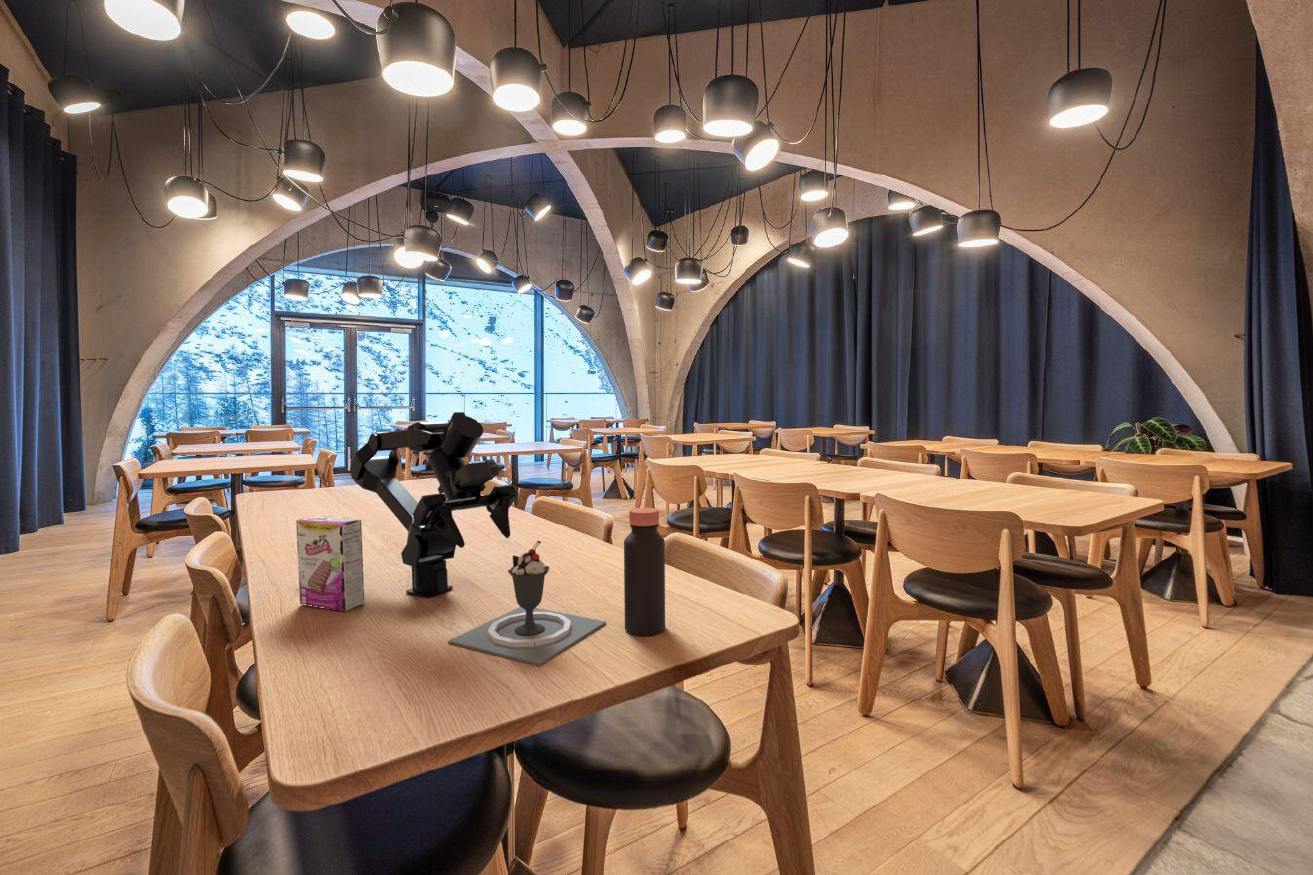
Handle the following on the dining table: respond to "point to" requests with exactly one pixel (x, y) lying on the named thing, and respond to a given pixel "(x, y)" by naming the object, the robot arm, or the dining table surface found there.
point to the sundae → (528, 588)
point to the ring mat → (533, 648)
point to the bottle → (644, 574)
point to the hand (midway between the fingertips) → (486, 541)
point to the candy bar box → (330, 562)
